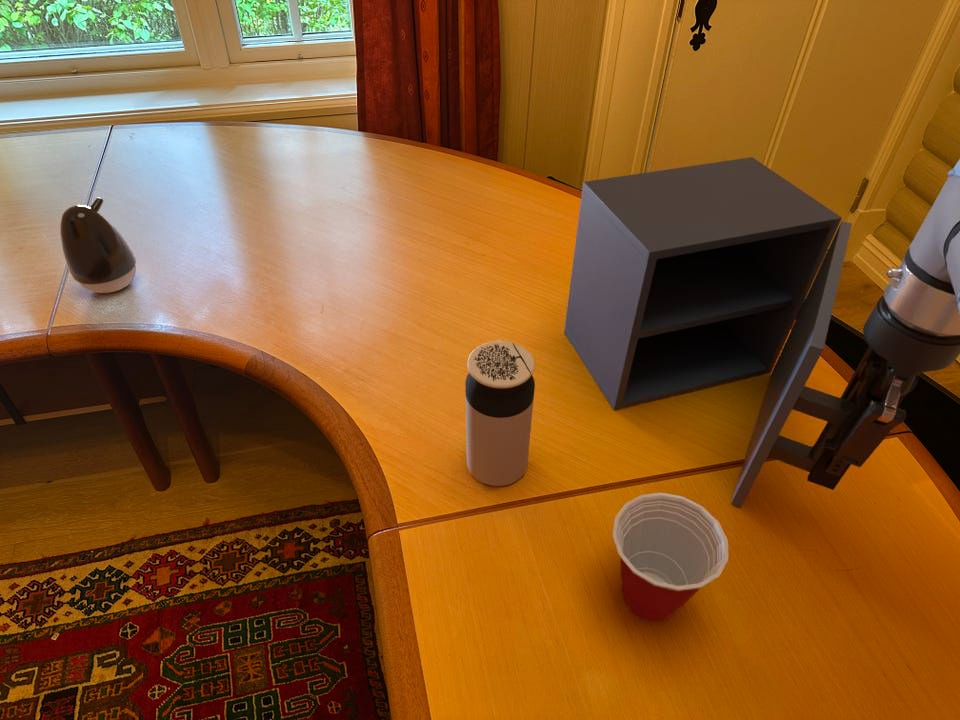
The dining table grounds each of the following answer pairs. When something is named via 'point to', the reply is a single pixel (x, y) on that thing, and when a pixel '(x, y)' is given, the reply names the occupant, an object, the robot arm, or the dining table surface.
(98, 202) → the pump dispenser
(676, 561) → the plastic cup
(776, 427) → the cupboard door
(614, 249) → the cupboard
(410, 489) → the dining table surface
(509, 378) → the travel mug
